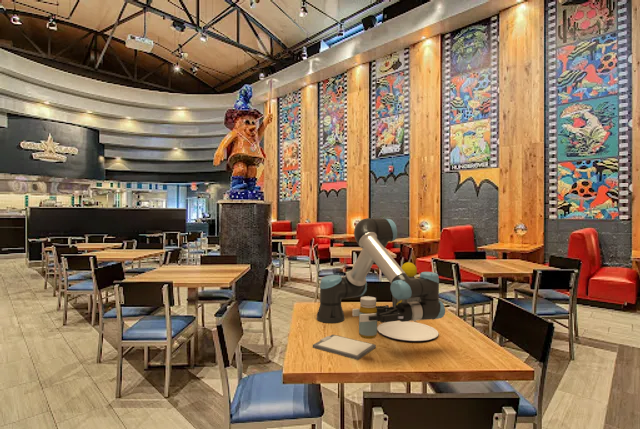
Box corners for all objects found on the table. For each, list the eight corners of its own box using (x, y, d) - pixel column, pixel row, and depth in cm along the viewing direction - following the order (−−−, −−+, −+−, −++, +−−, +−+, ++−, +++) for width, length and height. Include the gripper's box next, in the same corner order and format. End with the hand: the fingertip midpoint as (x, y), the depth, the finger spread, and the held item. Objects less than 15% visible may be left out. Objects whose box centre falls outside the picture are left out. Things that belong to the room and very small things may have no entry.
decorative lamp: (402, 307, 214) (402, 259, 214) (431, 313, 201) (431, 262, 201) (385, 313, 201) (386, 262, 201) (415, 320, 187) (415, 265, 188)
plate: (388, 320, 188) (388, 317, 188) (444, 330, 173) (444, 326, 173) (367, 336, 163) (367, 332, 163) (430, 348, 148) (430, 344, 148)
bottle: (357, 333, 139) (357, 296, 139) (374, 332, 140) (374, 296, 140) (361, 339, 132) (361, 300, 132) (378, 339, 133) (379, 300, 133)
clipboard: (312, 347, 147) (312, 342, 147) (332, 336, 161) (332, 332, 161) (358, 360, 135) (358, 354, 135) (375, 347, 148) (375, 342, 148)
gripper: (421, 328, 132) (366, 333, 125) (396, 313, 151) (347, 317, 145) (422, 308, 132) (366, 312, 125) (396, 296, 151) (347, 299, 145)
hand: (356, 315), depth 135 cm, fingers closed on bottle, 7 cm apart
